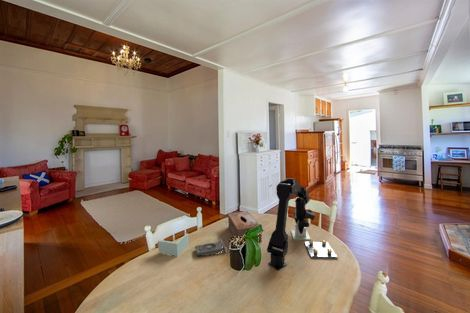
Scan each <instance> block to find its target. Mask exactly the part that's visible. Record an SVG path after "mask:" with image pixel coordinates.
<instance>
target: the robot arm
mask: <svg viewBox="0 0 470 313" xmlns="http://www.w3.org/2000/svg"><path fill="white" fill-rule="evenodd" d="M276 196H277V198H278V205H277V215H276V222H275V229H274V230H273V232H272V233H271V235H270V236H271V237H270V238H269V242H268V245H267V248H266V251H267V253H270V261H269V262H268V263H267V264H268V265H269V266H270V267H272V268H274V269H275V270H277V271H279V270H280V269H283V268H284V267H286V266H288V264H287V262H285V256H286V255H287V254H288V249H289V240H288V239H289V234H288V233H287V232H286V227H287V217H288V210H289V209H288V208H289V202H290V201H291V199H292V198H293V196H294V197H296V198H295V201H294V202H295V207H294V211H292V216H293V219H294V221H295V225H297V226H298V229H299V232H300V234H302V232H303V229H304V227H306V228H309V227H310V223H309V221H308V219H309V220H310V221H314V220H315V217H316V214H315V213H314V212H312V210H311V209H310V208H309V209H306V205H307V204H308V203H309V202H310V201H311V198H310V196H309V192H308V190H307V188H306V187H303V186H301V185H300V184H299V183H298V181H297V179H296V178H290V177H288V178H287V177H286V178H285V179H284V180H281V181H280V182H278V184H277V185H276Z"/></svg>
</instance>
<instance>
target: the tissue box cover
mask: <svg viewBox="0 0 470 313" xmlns="http://www.w3.org/2000/svg"><path fill="white" fill-rule="evenodd" d="M227 217H228V222H227V223H228V228H230V229H229V230H231V231H230V232H231V234H232V236H233V235H234V236H243V235H244V234H245V233H246V231H247V230H248V229H252V228H254V227H256V226H258V225H261V224H260V223H259V222H258V220H257V219H256V218H255V217H254V216H253V215H252V214H251V213H250V212H249V211H248V210H245V211H238V212H231V213H230V212H229V213H228V214H227ZM262 235H263V234H262V233H261V234H259V235H258V237H259V242H258V243H262V242H263V241H262V237H263V236H262ZM234 236H233V237H234Z"/></svg>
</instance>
